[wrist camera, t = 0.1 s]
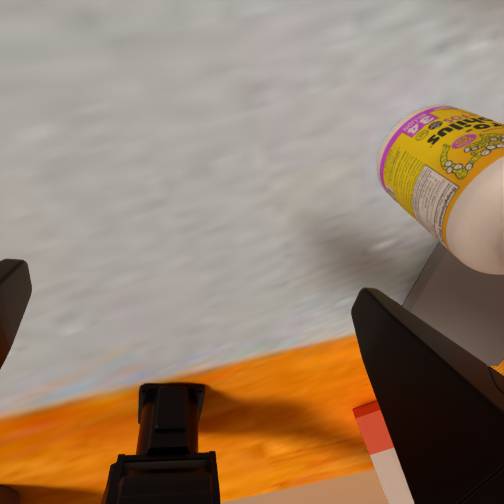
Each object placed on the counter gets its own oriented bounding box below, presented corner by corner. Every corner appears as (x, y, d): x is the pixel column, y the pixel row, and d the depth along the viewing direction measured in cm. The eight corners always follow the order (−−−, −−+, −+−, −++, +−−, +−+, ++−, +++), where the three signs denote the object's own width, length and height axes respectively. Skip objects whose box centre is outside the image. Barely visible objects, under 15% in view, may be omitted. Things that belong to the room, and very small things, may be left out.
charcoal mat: (490, 357, 39) (497, 365, 38) (374, 353, 36) (379, 363, 35) (582, 249, 31) (595, 257, 30) (444, 233, 28) (453, 241, 27)
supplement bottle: (479, 99, 22) (733, 171, 12) (449, 192, 26) (620, 311, 15) (381, 105, 22) (556, 186, 11) (365, 200, 25) (483, 328, 15)
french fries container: (362, 438, 47) (437, 632, 32) (344, 399, 40) (428, 617, 26) (394, 427, 46) (486, 620, 31) (381, 386, 40) (488, 602, 25)
